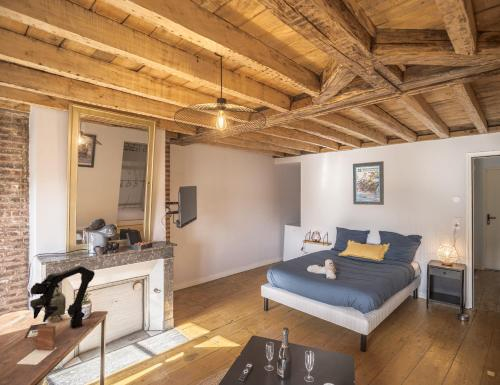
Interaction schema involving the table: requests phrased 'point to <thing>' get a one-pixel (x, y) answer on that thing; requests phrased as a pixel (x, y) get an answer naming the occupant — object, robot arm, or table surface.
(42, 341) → the walnut tile
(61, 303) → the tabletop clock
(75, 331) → the table surface
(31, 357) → the white mat
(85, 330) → the table surface
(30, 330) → the chocolate bar
